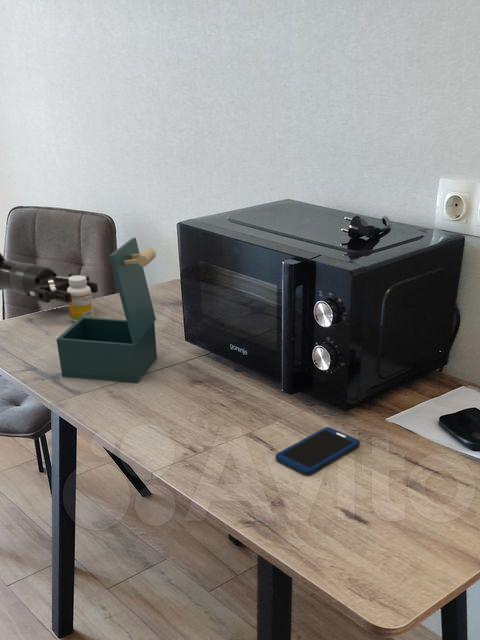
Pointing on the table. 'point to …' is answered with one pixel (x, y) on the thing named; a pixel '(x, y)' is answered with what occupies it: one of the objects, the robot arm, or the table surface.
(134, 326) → the green box lid
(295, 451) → the cell phone
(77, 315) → the supplement bottle
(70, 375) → the dark green rectangular box
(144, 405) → the table surface
